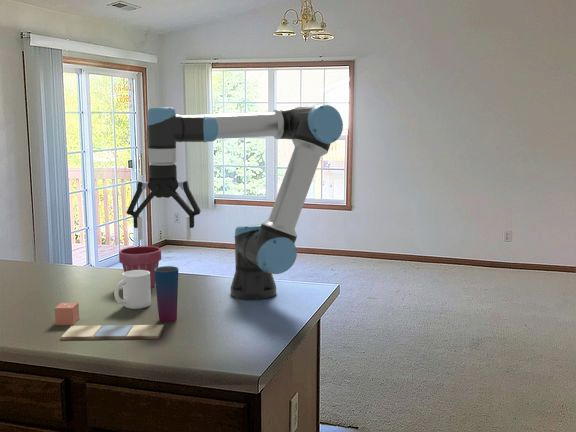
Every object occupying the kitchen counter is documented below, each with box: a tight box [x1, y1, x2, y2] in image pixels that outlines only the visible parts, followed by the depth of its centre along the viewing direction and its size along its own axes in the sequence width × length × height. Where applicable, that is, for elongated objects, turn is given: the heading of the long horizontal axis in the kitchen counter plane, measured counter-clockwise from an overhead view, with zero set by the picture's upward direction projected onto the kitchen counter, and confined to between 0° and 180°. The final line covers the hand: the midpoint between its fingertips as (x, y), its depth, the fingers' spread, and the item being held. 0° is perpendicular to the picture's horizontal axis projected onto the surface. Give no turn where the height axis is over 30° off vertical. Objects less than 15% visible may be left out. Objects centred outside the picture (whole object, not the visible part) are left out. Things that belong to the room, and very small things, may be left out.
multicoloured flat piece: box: [59, 324, 165, 341], centre depth 165 cm, size 26×9×1 cm, turn 92°
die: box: [54, 302, 80, 326], centre depth 174 cm, size 5×5×5 cm
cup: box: [154, 265, 179, 323], centre depth 176 cm, size 7×7×15 cm
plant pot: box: [118, 245, 162, 288], centre depth 212 cm, size 14×14×13 cm
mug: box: [114, 270, 152, 310], centre depth 188 cm, size 12×8×10 cm
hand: (164, 239), depth 173 cm, fingers open, 13 cm apart
